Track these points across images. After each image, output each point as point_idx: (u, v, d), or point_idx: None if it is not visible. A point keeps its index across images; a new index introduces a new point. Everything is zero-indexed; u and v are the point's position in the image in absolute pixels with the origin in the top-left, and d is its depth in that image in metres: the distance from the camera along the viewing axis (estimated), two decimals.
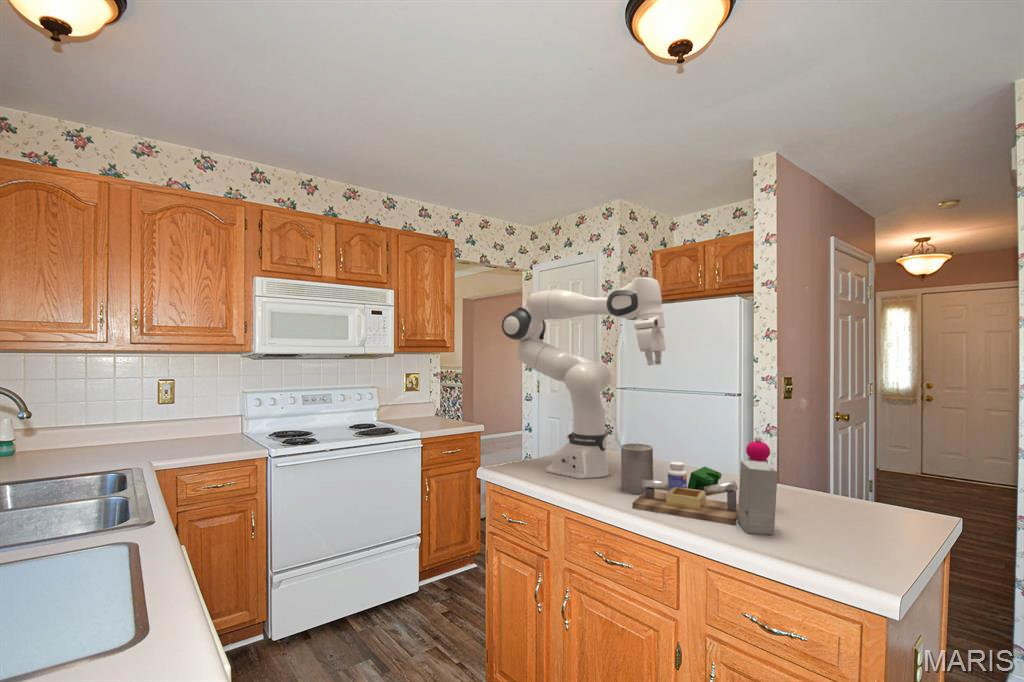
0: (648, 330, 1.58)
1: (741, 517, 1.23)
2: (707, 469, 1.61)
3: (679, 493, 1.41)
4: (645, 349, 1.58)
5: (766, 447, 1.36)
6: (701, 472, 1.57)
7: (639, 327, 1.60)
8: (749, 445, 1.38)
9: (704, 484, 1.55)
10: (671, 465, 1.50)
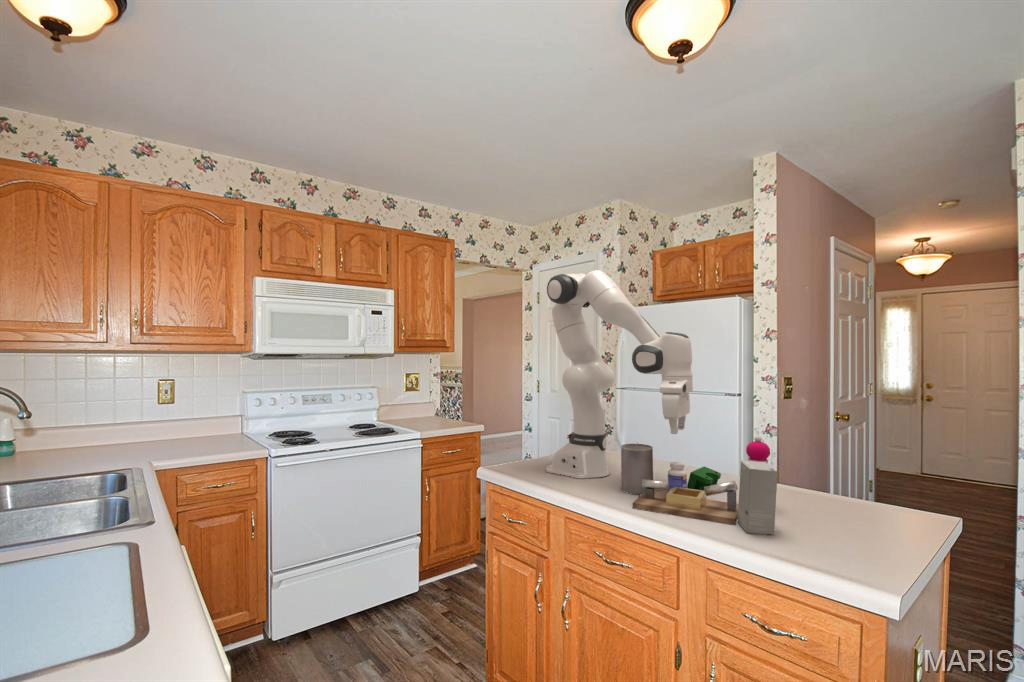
0: (676, 396, 1.42)
1: (741, 517, 1.23)
2: (706, 469, 1.61)
3: (679, 493, 1.41)
4: (669, 418, 1.42)
5: (766, 447, 1.36)
6: (700, 472, 1.57)
7: (665, 391, 1.44)
8: (749, 445, 1.38)
9: (703, 484, 1.55)
10: (671, 465, 1.50)
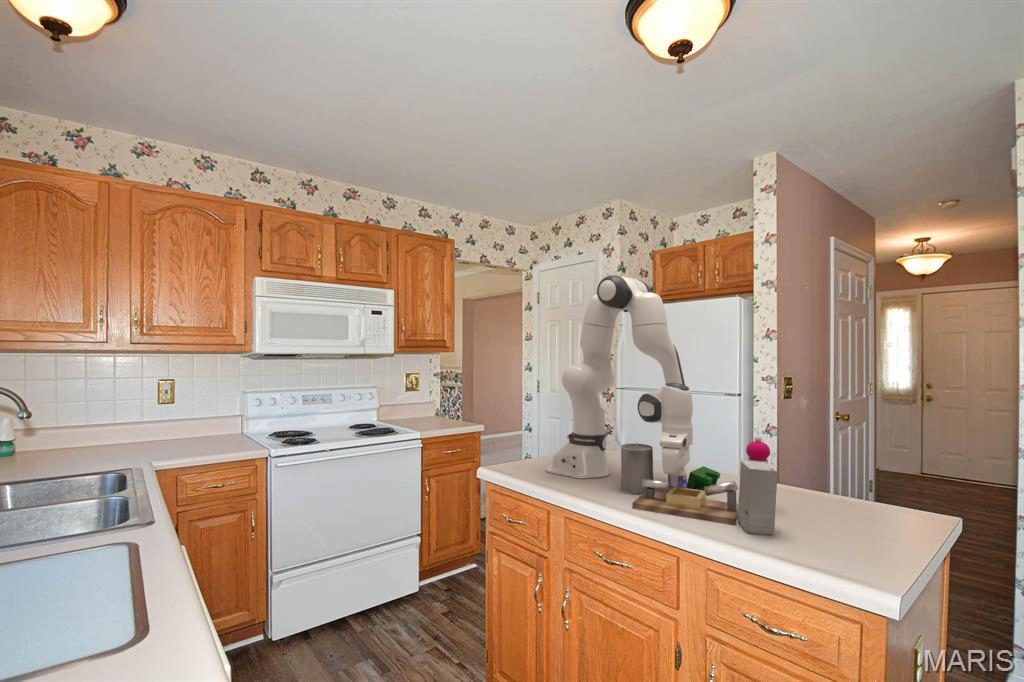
0: (676, 451, 1.42)
1: (741, 517, 1.23)
2: (706, 469, 1.61)
3: (679, 493, 1.41)
4: (669, 473, 1.42)
5: (766, 447, 1.36)
6: (699, 472, 1.57)
7: (665, 446, 1.44)
8: (749, 445, 1.38)
9: (703, 484, 1.55)
10: None
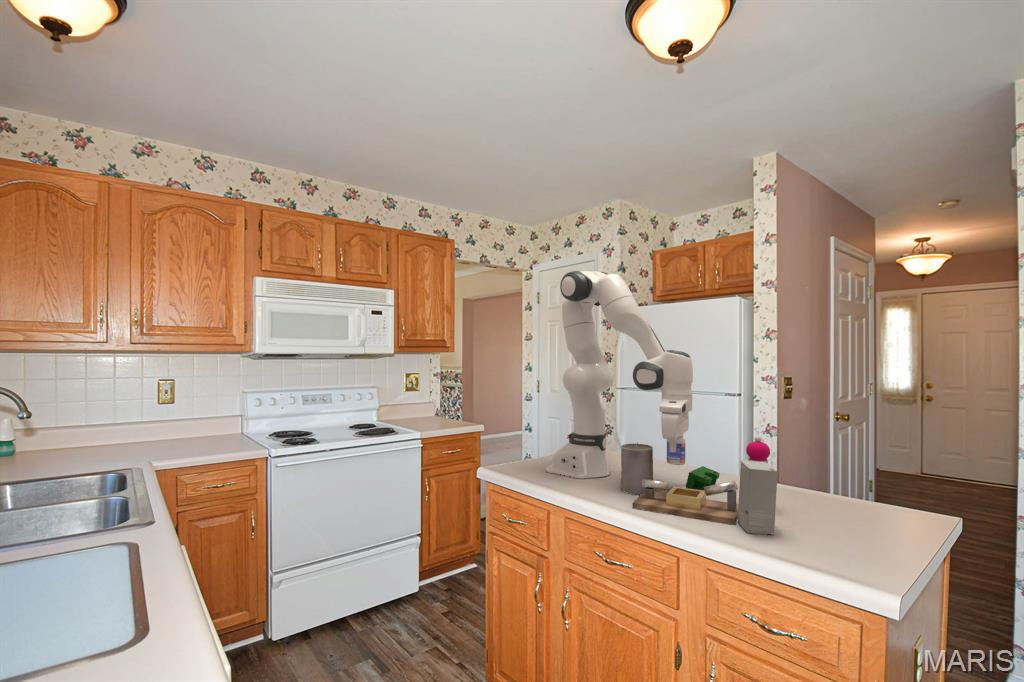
0: (675, 416, 1.42)
1: (741, 517, 1.23)
2: (705, 469, 1.61)
3: (679, 493, 1.41)
4: (668, 438, 1.42)
5: (766, 447, 1.36)
6: (699, 472, 1.57)
7: (665, 411, 1.44)
8: (749, 445, 1.38)
9: (702, 484, 1.55)
10: None
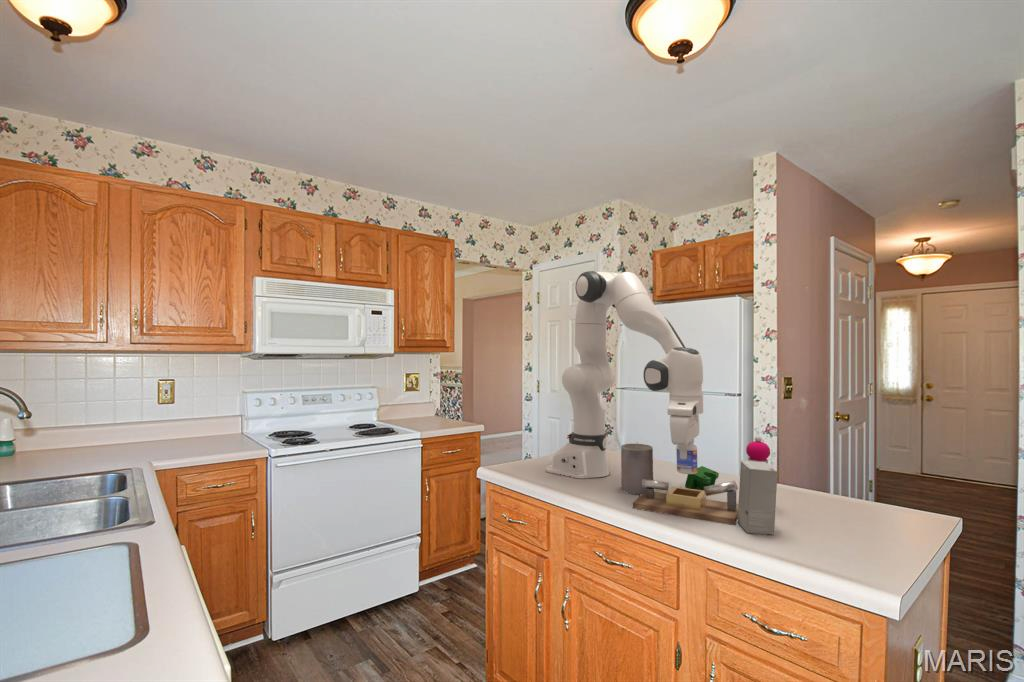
0: (685, 419, 1.29)
1: (741, 517, 1.23)
2: (704, 469, 1.61)
3: (679, 493, 1.41)
4: (678, 443, 1.29)
5: (766, 447, 1.36)
6: (698, 471, 1.57)
7: (673, 414, 1.31)
8: (749, 445, 1.38)
9: (701, 483, 1.55)
10: None
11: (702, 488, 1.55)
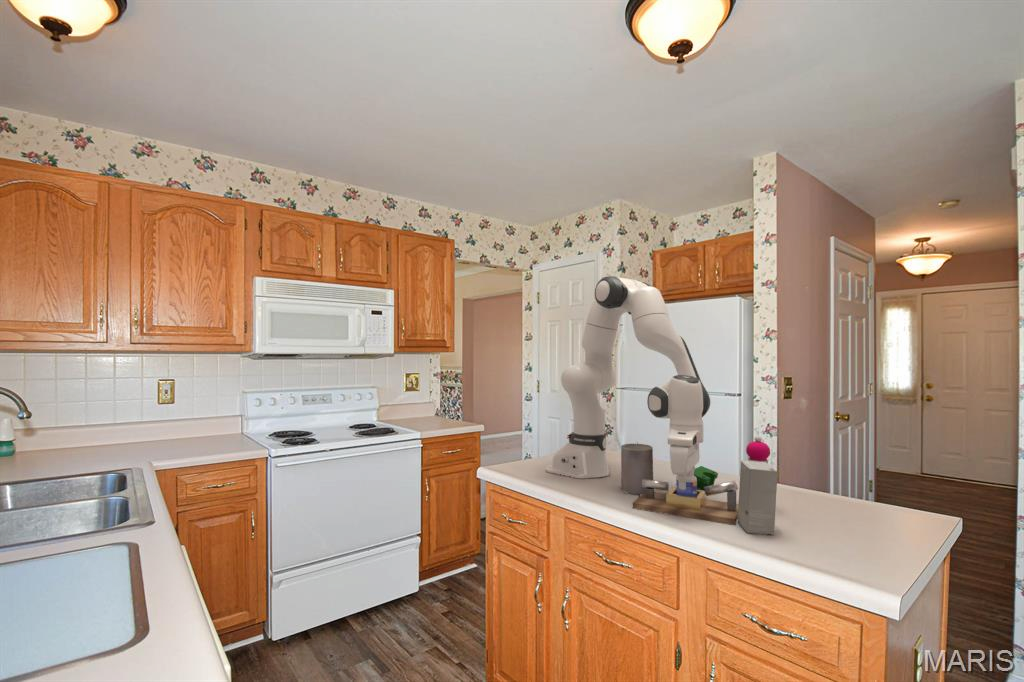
0: (685, 450, 1.29)
1: (741, 517, 1.23)
2: (703, 468, 1.61)
3: None
4: (678, 473, 1.29)
5: (766, 447, 1.36)
6: (697, 471, 1.57)
7: (674, 443, 1.31)
8: (749, 445, 1.38)
9: (700, 483, 1.55)
10: None
11: (701, 488, 1.55)
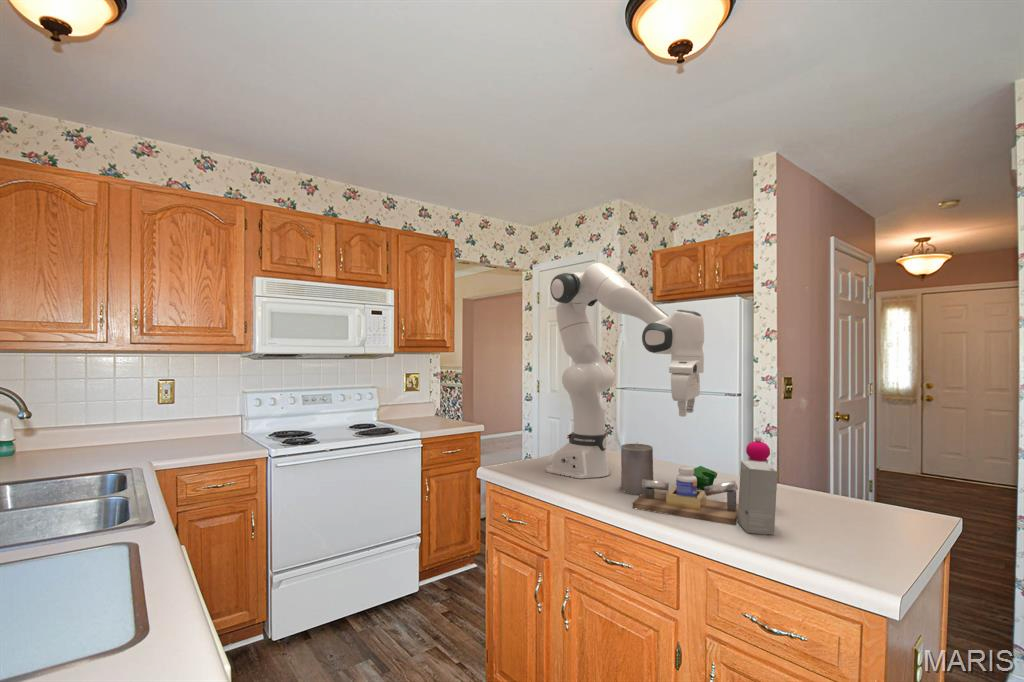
0: (686, 377, 1.35)
1: (741, 517, 1.23)
2: (703, 468, 1.61)
3: None
4: (678, 399, 1.35)
5: (766, 447, 1.36)
6: (696, 471, 1.58)
7: (675, 371, 1.37)
8: (749, 445, 1.38)
9: (700, 483, 1.56)
10: (680, 470, 1.37)
11: (700, 488, 1.55)
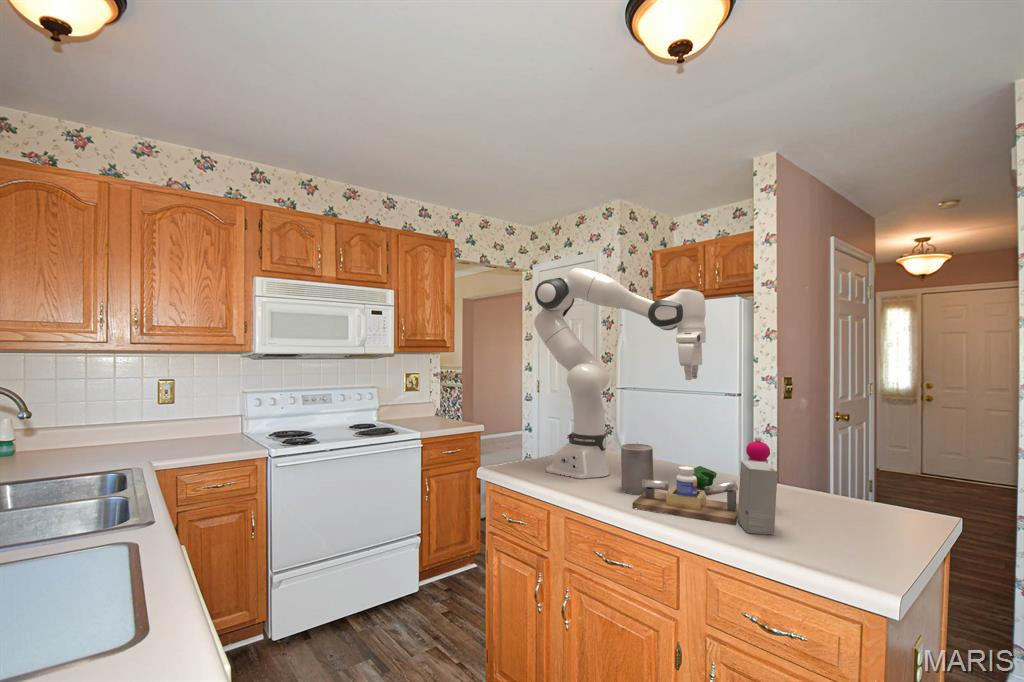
0: (691, 345, 1.56)
1: (741, 517, 1.23)
2: (702, 468, 1.62)
3: None
4: (685, 364, 1.56)
5: (766, 447, 1.36)
6: (696, 471, 1.58)
7: (681, 341, 1.58)
8: (749, 445, 1.38)
9: (699, 483, 1.56)
10: (680, 470, 1.37)
11: (700, 488, 1.56)
